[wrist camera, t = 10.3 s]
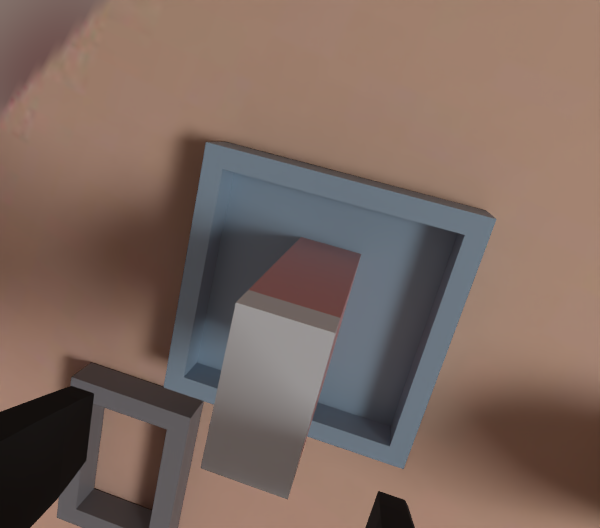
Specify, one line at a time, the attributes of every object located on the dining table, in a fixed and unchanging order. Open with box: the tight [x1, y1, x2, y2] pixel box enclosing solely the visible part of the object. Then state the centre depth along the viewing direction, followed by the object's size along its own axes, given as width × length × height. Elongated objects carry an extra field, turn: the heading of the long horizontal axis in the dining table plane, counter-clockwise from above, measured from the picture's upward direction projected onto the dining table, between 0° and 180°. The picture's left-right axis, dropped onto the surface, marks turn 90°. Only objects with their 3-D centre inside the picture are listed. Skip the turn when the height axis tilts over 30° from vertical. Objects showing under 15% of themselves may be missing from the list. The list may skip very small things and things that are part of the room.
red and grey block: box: [201, 237, 361, 499], centre depth 16 cm, size 2×5×8 cm, turn 166°
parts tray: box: [164, 142, 496, 469], centre depth 19 cm, size 11×11×2 cm
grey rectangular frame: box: [57, 363, 204, 528], centre depth 24 cm, size 6×8×2 cm
